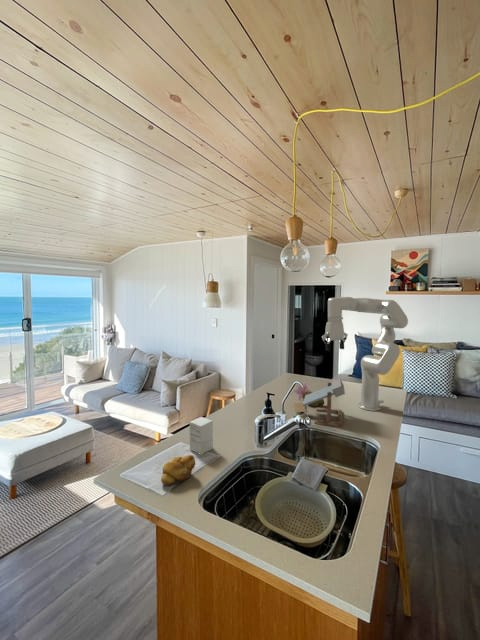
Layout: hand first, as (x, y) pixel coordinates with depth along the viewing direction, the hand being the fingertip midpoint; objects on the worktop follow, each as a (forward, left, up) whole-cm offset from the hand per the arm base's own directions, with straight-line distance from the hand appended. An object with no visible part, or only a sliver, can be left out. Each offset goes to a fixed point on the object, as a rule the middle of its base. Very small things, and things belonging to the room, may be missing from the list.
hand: (334, 349), depth 174 cm
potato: (+3, -15, -37) cm, 40 cm away
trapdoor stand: (+7, +4, -37) cm, 38 cm away
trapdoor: (+8, +3, -25) cm, 27 cm away
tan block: (+17, -3, -32) cm, 36 cm away
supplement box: (+81, +13, -37) cm, 90 cm away
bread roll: (+96, +30, -37) cm, 107 cm away
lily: (+2, -28, -37) cm, 46 cm away
